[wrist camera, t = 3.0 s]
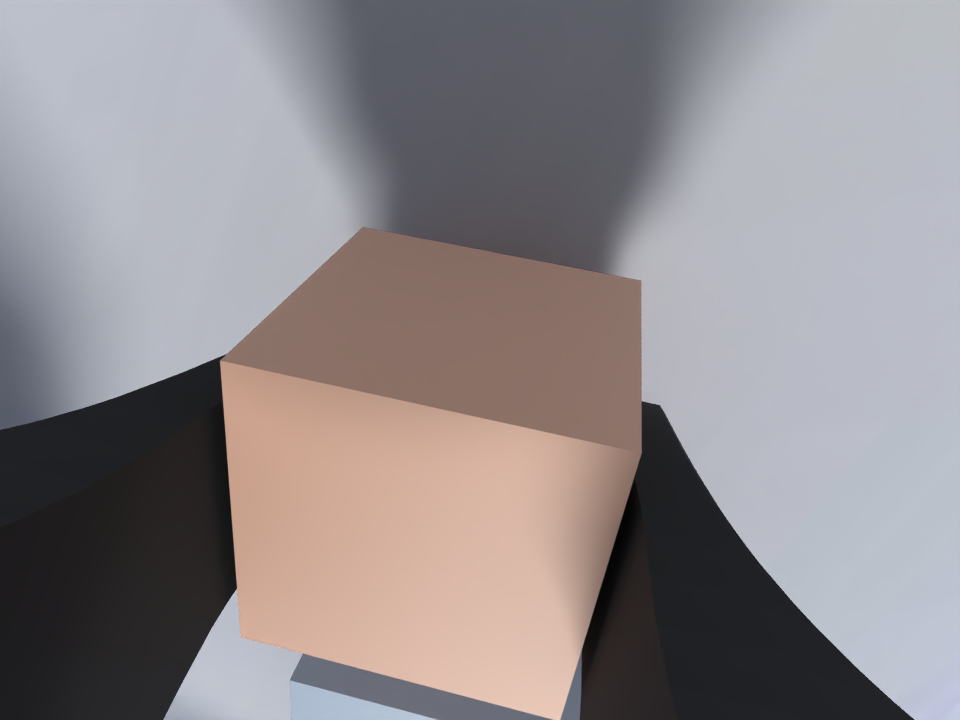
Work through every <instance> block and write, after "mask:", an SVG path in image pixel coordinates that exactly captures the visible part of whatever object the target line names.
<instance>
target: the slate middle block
mask: <svg viewBox="0 0 960 720" xmlns="http://www.w3.org/2000/svg"><path fill="white" fill-rule="evenodd" d="M581 665H582V650H581V654H580V657H579V660H578V663H577V667H576V670H575V673H574V676H573V680H572V683H571V686H570V690H569V693H568V696H567V699H566V703H565V706H564V709H563V713H562V716H561V719H560V720H580V705H581ZM290 702H291V720H553V719H549V718H545V717H541V716H538V715H534V714H530V713H526V712H522V711H519V710H515V709H511V708H507V707H504V706H500V705H496V704H492V703H488V702H485V701H481V700H477V699H473V698H469V697H466V696H462V695H458V694H454V693H451V692H447V691H443V690H439V689H435V688H432V687H428V686H424V685H420V684H416V683H413V682H409V681H405V680H401V679H398V678H394V677H390V676H386V675H382V674H379V673H375V672H371V671H367V670H364V669H360V668H356V667H352V666H348V665H345V664H341V663H337V662H333V661H329V660H326V659H322V658H318V657H314V656H311V655H307V654H303V655H302V657H301V659H300V661H299V663H298V665H297V667H296V669H295V671H294V673H293V675H292V677H291V679H290Z"/></svg>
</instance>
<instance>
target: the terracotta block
mask: <svg viewBox="0 0 960 720" xmlns="http://www.w3.org/2000/svg"><path fill="white" fill-rule="evenodd" d="M220 367H221V380H222V393H223V407H224V420H225V433H226V447H227V460H228V473H229V487H230V500H231V514H232V527H233V540H234V554H235V567H236V580H237V594H238V607H239V620H240V634H241V637H242V638H246V639H250V640H254V641H258V642H261V643H265V644H269V645H273V646H276V647H280V648H284V649H288V650H292V651H295V652H299V653H303V654H307V655H311V656H314V657H318V658H322V659H326V660H329V661H333V662H337V663H341V664H345V665H348V666H352V667H356V668H360V669H364V670H367V671H371V672H375V673H379V674H382V675H386V676H390V677H394V678H398V679H401V680H405V681H409V682H413V683H416V684H420V685H424V686H428V687H432V688H435V689H439V690H443V691H447V692H451V693H454V694H458V695H462V696H466V697H469V698H473V699H477V700H481V701H485V702H488V703H492V704H496V705H500V706H504V707H507V708H511V709H515V710H519V711H522V712H526V713H530V714H534V715H538V716H541V717H545V718H549V719H553V720H560V719H561V716H562V713H563V709H564V706H565V703H566V699H567V696H568V693H569V690H570V686H571V683H572V680H573V676H574V673H575V670H576V667H577V663H578V660H579V657H580V654H581V650H582V647H583V644H584V640H585V637H586V634H587V631H588V627H589V624H590V621H591V617H592V614H593V611H594V608H595V604H596V601H597V598H598V595H599V591H600V588H601V585H602V581H603V578H604V575H605V572H606V568H607V565H608V562H609V558H610V555H611V552H612V549H613V545H614V542H615V539H616V536H617V532H618V529H619V526H620V522H621V519H622V516H623V513H624V509H625V506H626V503H627V499H628V496H629V493H630V490H631V486H632V483H633V480H634V477H635V473H636V470H637V467H638V463H639V460H640V457H641V454H642V406H641V281H640V280H635V279H630V278H625V277H619V276H614V275H609V274H604V273H599V272H593V271H588V270H583V269H578V268H573V267H568V266H562V265H557V264H552V263H547V262H542V261H536V260H531V259H526V258H521V257H516V256H511V255H505V254H500V253H495V252H490V251H485V250H479V249H474V248H469V247H464V246H459V245H454V244H448V243H443V242H438V241H433V240H428V239H422V238H417V237H412V236H407V235H402V234H396V233H391V232H386V231H381V230H376V229H371V228H365V227H363V228H362V229H360V230H359V231H358V232H357V233H356V234H355V235H354V236H353V237H352V238H351V239H350V240H349V241H348V242H347V243H345V244H344V245H343V246H342V247H341V248H340V249H339V250H338V251H337V252H336V253H335V254H334V255H333V256H332V257H330V258H329V259H328V260H327V261H326V262H325V263H324V264H323V265H322V266H321V267H320V268H319V269H318V270H317V271H315V272H314V273H313V274H312V275H311V276H310V277H309V278H308V279H307V280H306V281H305V282H304V283H303V284H302V285H300V286H299V287H298V288H297V289H296V290H295V291H294V292H293V293H292V294H291V295H290V296H289V297H288V298H287V299H286V300H284V301H283V302H282V303H281V304H280V305H279V306H278V307H277V308H276V309H275V310H274V311H273V312H272V313H271V314H269V315H268V316H267V317H266V318H265V319H264V320H263V321H262V322H261V323H260V324H259V325H258V326H257V327H256V328H254V329H253V330H252V331H251V332H250V333H249V334H248V335H247V336H246V337H245V338H244V339H243V340H242V341H241V342H239V343H238V344H237V345H236V346H235V347H234V348H233V349H232V350H231V351H230V352H229V353H228V354H227V355H226V356H224V357H223V358H222V359H221V360H220Z"/></svg>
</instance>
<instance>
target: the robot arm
mask: <svg viewBox="0 0 960 720" xmlns="http://www.w3.org/2000/svg"><path fill="white" fill-rule="evenodd" d="M226 355H227V354H226ZM226 355H223V356H221V357H219V358H216V359H214V360H211V361H209V362H207V363H204V364H202V365H200V366H197V367H195V368H192V369H190V370H188V371H185V372H183V373H180V374H178V375H175V376H172V377H170V378H167V379H164V380H162V381H159V382H156V383H154V384H151V385H148V386H146V387H143V388H140V389H138V390H135V391H132V392H130V393H127V394H124V395H122V396H119V397H116V398H113V399H110V400H107V401H104V402H101V403H98V404H95V405H92V406H89V407H85V408H82V409H79V410H75V411H72V412H68V413H65V414H61V415H58V416H54V417H51V418H47V419H44V420H40V421H36V422H32V423H29V424H25V425H20V426H16V427H11V428H7V429H2V430H0V720H163V719H164V717H165V715H166V713H167V711H168V709H169V707H170V705H171V703H172V701H173V699H174V697H175V695H176V693H177V692H178V690H179V688H180V686H181V684H182V682H183V680H184V678H185V676H186V675H187V673H188V671H189V669H190V667H191V665H192V663H193V662H194V660H195V658H196V656H197V654H198V652H199V650H200V649H201V647H202V645H203V643H204V641H205V639H206V637H207V636H208V634H209V632H210V630H211V628H212V627H213V625H214V623H215V622H216V620H217V618H218V617H219V615H220V614H221V612H222V610H223V609H224V607H225V605H226V604H227V602H228V601H229V599H230V598H231V596H232V595H233V593H234V592H235V590H236V589H237V580H236V567H235V554H234V540H233V527H232V514H231V500H230V487H229V473H228V460H227V447H226V433H225V420H224V407H223V393H222V380H221V367H220V360H221V359H222V358H223V357H224V356H226ZM641 406H642V454H641V457H640V460H639V463H638V467H637V470H636V473H635V477H634V480H633V483H632V486H631V490H630V493H629V496H628V499H627V503H626V506H625V509H624V513H623V516H622V519H621V522H620V526H619V529H618V532H617V536H616V539H615V542H614V545H613V549H612V552H611V555H610V558H609V562H608V565H607V568H606V572H605V575H604V578H603V581H602V585H601V588H600V591H599V595H598V598H597V601H596V604H595V608H594V611H593V614H592V617H591V621H590V624H589V627H588V631H587V634H586V637H585V640H584V644H583V647H582V665H581V705H580V720H914V719H913V718H912V717H910V716H909V715H908V714H907V713H906V712H905V711H904V710H902V709H901V708H900V707H899V706H898V705H897V704H895V703H894V702H893V701H892V700H891V699H890V698H889V697H888V696H887V695H885V694H884V693H883V692H882V691H881V690H880V689H879V688H878V687H877V686H876V685H875V684H873V683H872V682H871V681H870V680H869V679H868V678H867V677H866V676H865V675H864V674H863V673H862V672H860V671H859V670H858V669H857V668H856V667H855V666H854V665H853V664H852V663H851V662H850V661H849V660H848V659H847V658H846V657H845V656H844V655H843V654H842V653H841V652H840V651H839V650H838V649H837V648H836V647H835V646H834V645H833V644H832V643H831V642H830V641H829V640H828V639H827V638H826V637H825V636H824V635H823V634H822V633H821V632H820V631H819V630H818V629H817V628H816V627H815V626H814V625H813V624H812V623H811V621H810V620H809V619H808V618H807V617H806V616H805V615H804V614H803V613H802V612H801V611H800V610H799V609H798V608H797V606H796V605H795V604H794V603H793V602H792V601H791V600H790V598H789V597H788V596H787V595H786V594H785V593H784V591H783V590H782V589H781V588H780V587H779V586H778V584H777V583H776V582H775V581H774V580H773V579H772V577H771V576H770V575H769V574H768V573H767V572H766V570H765V569H764V568H763V567H762V566H761V564H760V563H759V562H758V561H757V559H756V558H755V557H754V556H753V554H752V553H751V552H750V551H749V549H748V548H747V547H746V545H745V544H744V543H743V541H742V540H741V538H740V537H739V536H738V534H737V533H736V531H735V530H734V529H733V527H732V526H731V525H730V523H729V522H728V520H727V519H726V517H725V516H724V514H723V513H722V511H721V510H720V508H719V507H718V505H717V504H716V502H715V501H714V499H713V497H712V496H711V494H710V493H709V491H708V489H707V488H706V486H705V485H704V483H703V481H702V480H701V478H700V476H699V475H698V473H697V471H696V470H695V468H694V466H693V465H692V463H691V461H690V459H689V458H688V456H687V454H686V452H685V450H684V449H683V447H682V445H681V443H680V441H679V439H678V438H677V436H676V434H675V432H674V430H673V428H672V426H671V424H670V422H669V420H668V419H667V417H666V415H665V413H664V411H663V410H662V408H661V407H660V405H656V404H651V403H647V402H642V401H641Z"/></svg>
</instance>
